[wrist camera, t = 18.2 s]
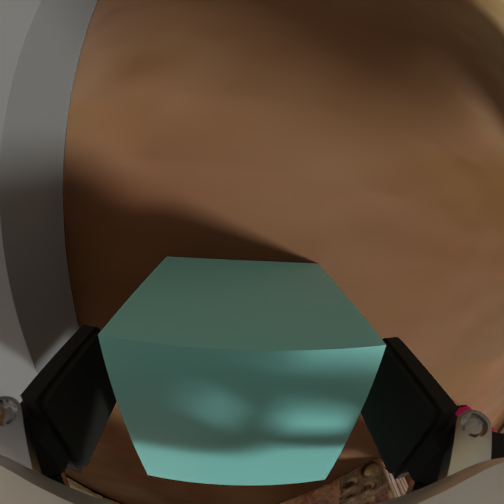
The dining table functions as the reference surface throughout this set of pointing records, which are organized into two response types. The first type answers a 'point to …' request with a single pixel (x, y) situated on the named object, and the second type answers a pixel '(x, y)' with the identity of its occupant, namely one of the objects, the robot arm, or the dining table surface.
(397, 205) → the dining table surface
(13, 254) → the base
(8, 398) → the robot arm
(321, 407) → the cube block
